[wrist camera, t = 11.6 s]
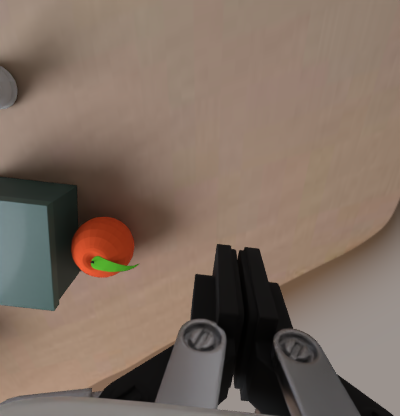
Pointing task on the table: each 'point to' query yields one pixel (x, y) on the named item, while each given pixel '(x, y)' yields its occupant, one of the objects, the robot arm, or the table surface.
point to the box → (36, 242)
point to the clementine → (103, 247)
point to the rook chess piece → (7, 89)
